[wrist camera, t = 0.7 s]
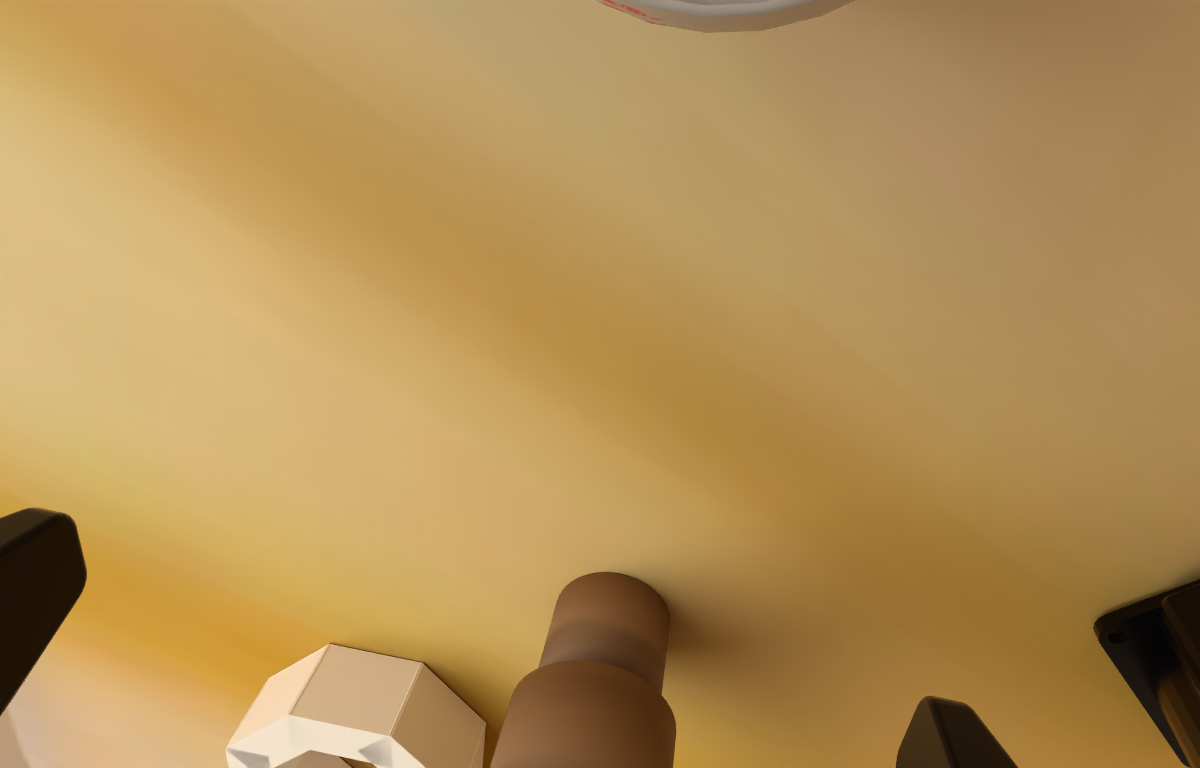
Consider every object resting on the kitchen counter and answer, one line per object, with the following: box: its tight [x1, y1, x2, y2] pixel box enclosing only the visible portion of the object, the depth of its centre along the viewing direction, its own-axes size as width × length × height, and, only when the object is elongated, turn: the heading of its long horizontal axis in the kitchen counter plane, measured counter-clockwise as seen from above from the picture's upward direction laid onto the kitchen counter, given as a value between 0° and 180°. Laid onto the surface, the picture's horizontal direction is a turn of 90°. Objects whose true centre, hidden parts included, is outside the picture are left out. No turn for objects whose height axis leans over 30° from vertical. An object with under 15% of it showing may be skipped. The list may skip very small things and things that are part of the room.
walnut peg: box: [490, 572, 676, 768], centre depth 23 cm, size 5×5×10 cm
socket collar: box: [225, 644, 487, 768], centre depth 30 cm, size 8×8×3 cm
